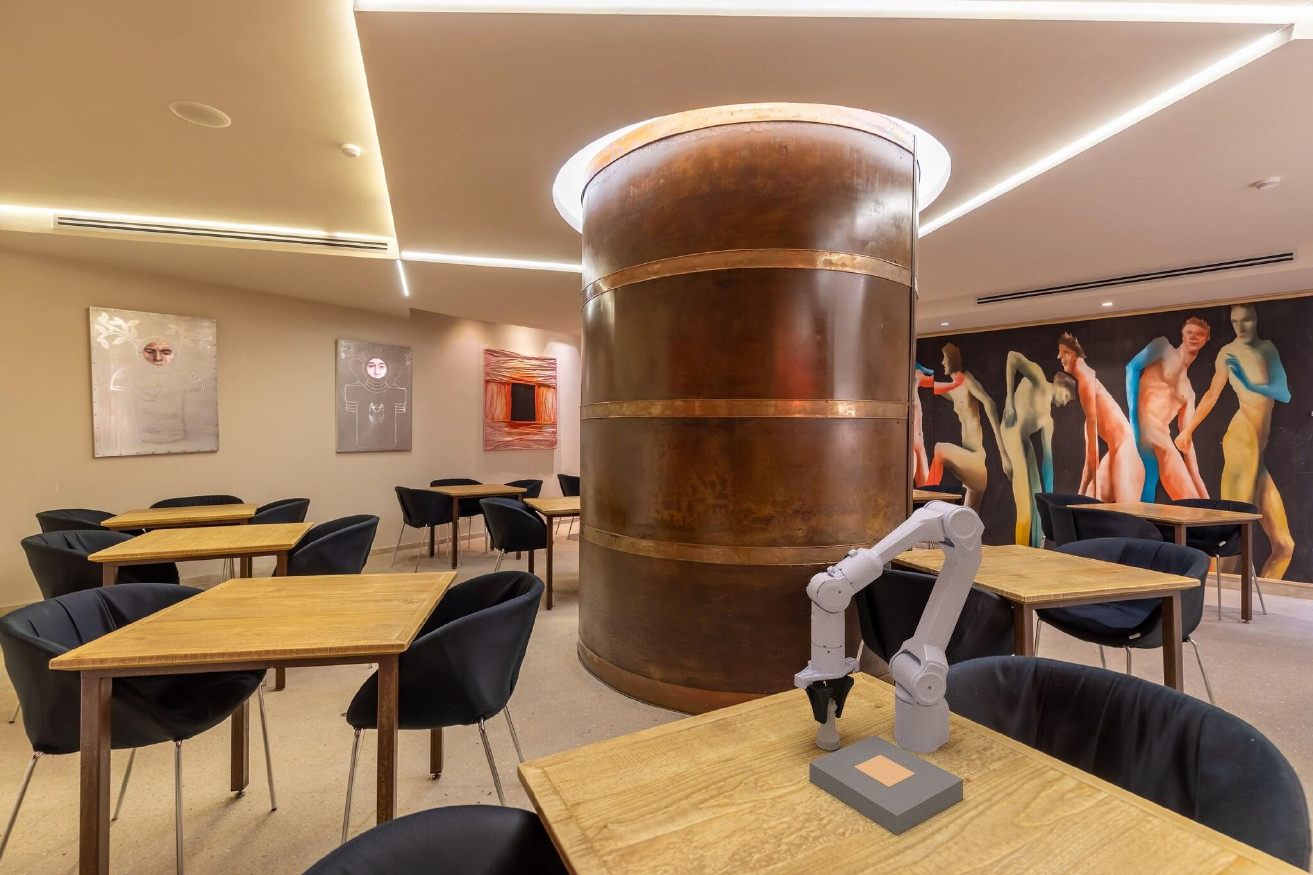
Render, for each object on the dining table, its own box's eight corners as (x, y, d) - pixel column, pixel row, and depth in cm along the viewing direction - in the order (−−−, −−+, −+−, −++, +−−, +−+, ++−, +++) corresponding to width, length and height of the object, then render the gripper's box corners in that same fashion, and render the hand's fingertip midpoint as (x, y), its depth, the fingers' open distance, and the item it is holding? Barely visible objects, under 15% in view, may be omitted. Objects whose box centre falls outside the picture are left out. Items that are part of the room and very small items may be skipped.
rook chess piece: (842, 752, 106) (842, 707, 106) (815, 750, 107) (815, 704, 107) (839, 739, 110) (839, 695, 110) (814, 737, 111) (814, 693, 111)
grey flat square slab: (874, 751, 106) (874, 734, 106) (963, 798, 93) (963, 778, 93) (809, 781, 97) (809, 761, 97) (896, 837, 84) (897, 815, 84)
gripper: (837, 628, 115) (837, 700, 116) (781, 643, 108) (781, 720, 108) (868, 639, 109) (868, 714, 110) (812, 656, 102) (812, 737, 102)
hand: (827, 718), depth 108 cm, fingers closed on rook chess piece, 3 cm apart
